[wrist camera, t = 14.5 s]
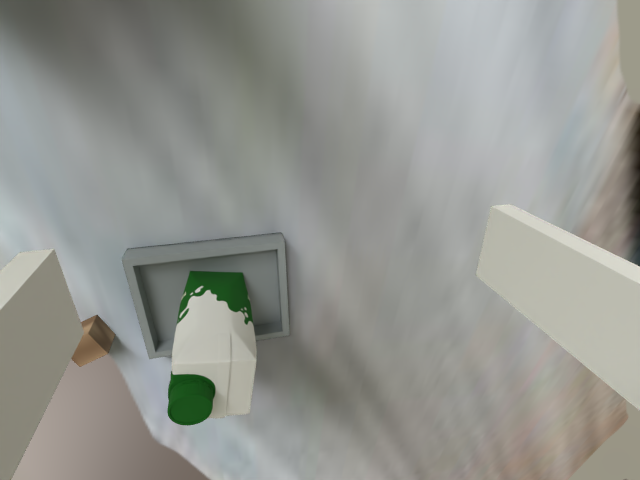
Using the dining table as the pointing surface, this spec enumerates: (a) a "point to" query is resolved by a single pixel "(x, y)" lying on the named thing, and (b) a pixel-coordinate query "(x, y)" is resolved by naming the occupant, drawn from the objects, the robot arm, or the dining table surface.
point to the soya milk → (212, 349)
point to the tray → (215, 256)
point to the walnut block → (93, 341)
